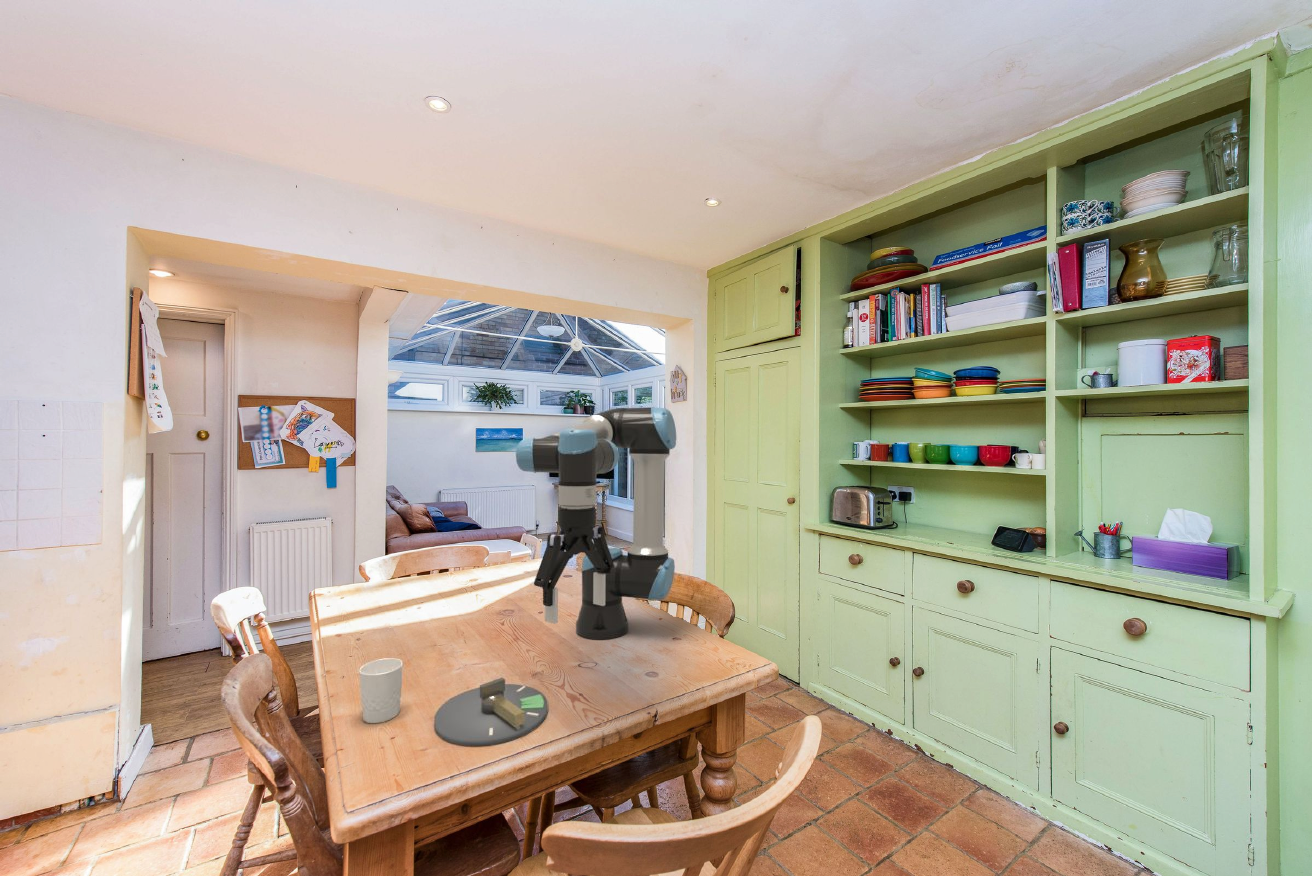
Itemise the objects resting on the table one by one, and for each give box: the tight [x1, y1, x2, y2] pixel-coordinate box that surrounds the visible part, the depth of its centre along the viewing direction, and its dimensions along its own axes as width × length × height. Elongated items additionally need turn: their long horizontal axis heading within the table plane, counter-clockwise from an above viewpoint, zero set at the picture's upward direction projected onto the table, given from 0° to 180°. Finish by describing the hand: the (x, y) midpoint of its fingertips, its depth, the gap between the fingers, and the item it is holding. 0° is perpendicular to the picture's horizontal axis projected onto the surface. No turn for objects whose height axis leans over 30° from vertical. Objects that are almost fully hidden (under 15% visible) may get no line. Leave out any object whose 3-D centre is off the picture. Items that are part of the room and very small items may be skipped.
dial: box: [433, 683, 548, 747], centre depth 110 cm, size 22×22×2 cm
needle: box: [479, 677, 525, 727], centre depth 107 cm, size 13×5×5 cm, turn 45°
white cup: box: [358, 657, 404, 724], centre depth 110 cm, size 8×8×10 cm
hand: (576, 613), depth 108 cm, fingers open, 13 cm apart
